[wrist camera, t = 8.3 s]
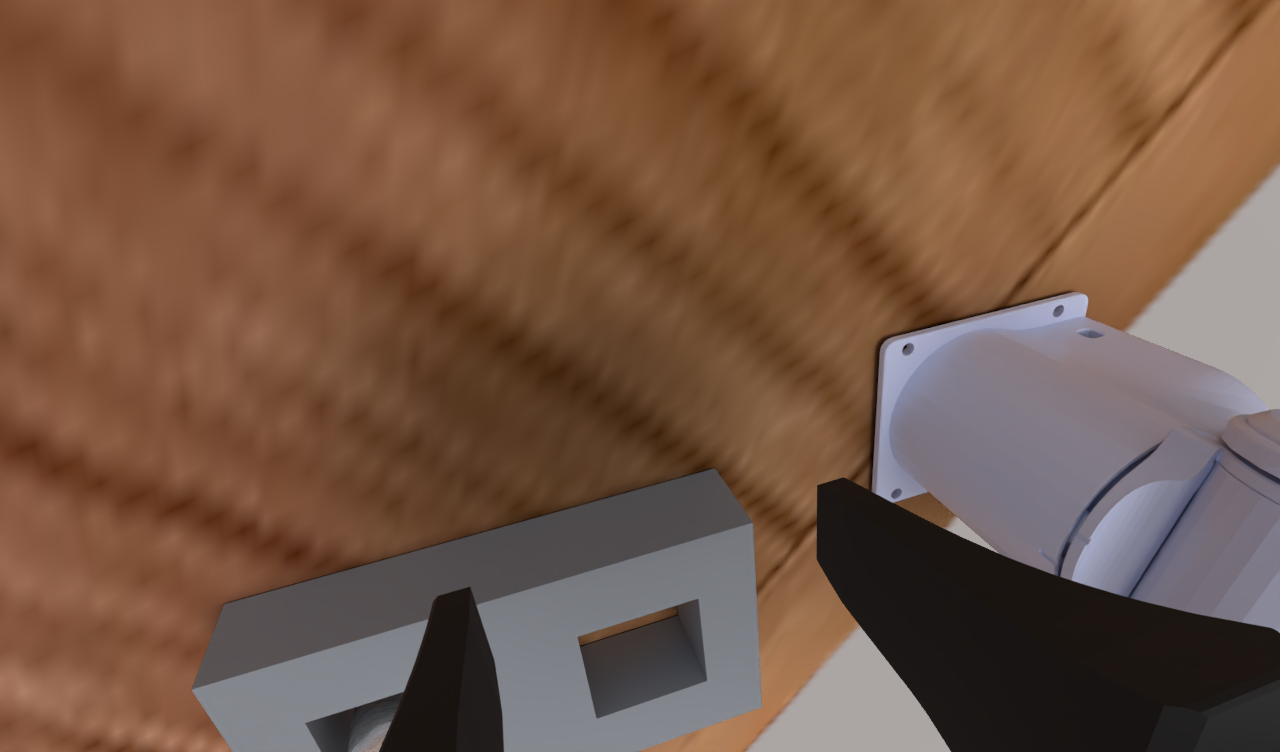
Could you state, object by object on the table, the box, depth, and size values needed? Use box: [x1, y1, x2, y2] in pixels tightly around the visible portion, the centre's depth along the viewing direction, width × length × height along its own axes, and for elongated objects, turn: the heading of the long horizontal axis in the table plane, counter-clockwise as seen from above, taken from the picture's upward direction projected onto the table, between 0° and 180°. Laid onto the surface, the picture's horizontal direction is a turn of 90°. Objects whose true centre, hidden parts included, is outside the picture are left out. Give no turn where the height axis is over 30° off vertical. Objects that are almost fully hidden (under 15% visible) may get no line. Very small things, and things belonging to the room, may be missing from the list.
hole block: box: [192, 468, 762, 752], centre depth 25 cm, size 18×10×4 cm, turn 96°
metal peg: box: [348, 692, 404, 752], centre depth 22 cm, size 3×3×7 cm
